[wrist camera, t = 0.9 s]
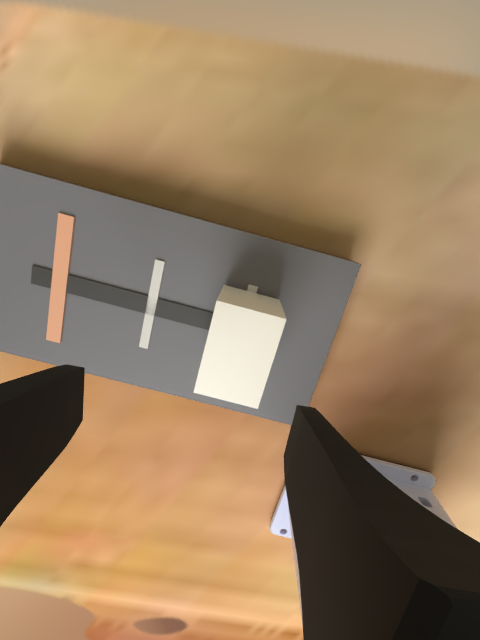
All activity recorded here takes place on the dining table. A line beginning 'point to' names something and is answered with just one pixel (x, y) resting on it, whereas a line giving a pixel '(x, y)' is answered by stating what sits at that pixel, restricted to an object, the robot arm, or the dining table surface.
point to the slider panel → (153, 290)
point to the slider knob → (240, 346)
